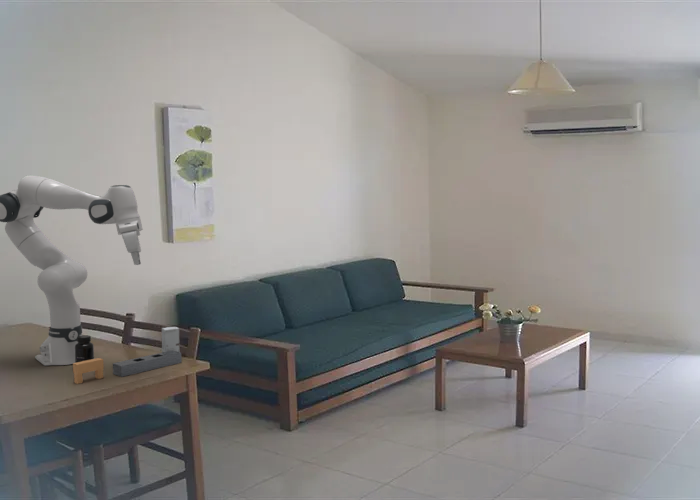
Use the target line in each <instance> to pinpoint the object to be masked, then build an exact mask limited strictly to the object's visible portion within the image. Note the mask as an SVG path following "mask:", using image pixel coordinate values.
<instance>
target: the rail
mask: <svg viewBox="0 0 700 500" xmlns="http://www.w3.org/2000/svg"><path fill="white" fill-rule="evenodd" d="M182 363H183V361H182V352H180V351H179V352H177V351H173V350H171V351H167V352H162V351H161V352H159V353H154V354H150V355H145V356H140V357H136V358H135V357H134V358H131V359H126V360H122V361H117V362H113V363H112V374H113V375H115V376H118V377H121V378H122V377H126V376H132V375H135V374H139V373H144V372H148V371H152V370H156V369H161V368H164V367H165V366H166V367H169V365H170V366H173V365H177V364H182ZM166 367H165V368H166Z"/></svg>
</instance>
